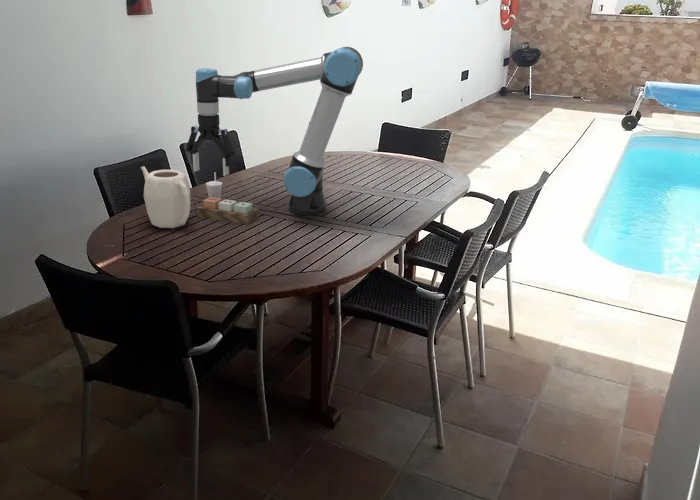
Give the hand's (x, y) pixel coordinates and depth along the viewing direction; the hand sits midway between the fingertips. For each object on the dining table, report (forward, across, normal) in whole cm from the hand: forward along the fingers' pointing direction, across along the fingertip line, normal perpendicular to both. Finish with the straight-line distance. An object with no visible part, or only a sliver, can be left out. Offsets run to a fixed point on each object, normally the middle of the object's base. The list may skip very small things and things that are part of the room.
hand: (211, 172), depth 225 cm
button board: (+16, -7, 0) cm, 18 cm away
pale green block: (+14, -13, 0) cm, 19 cm away
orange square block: (+14, 0, 0) cm, 14 cm away
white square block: (+14, -7, 0) cm, 15 cm away
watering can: (+16, +9, +16) cm, 25 cm away
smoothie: (+16, +4, -8) cm, 19 cm away
